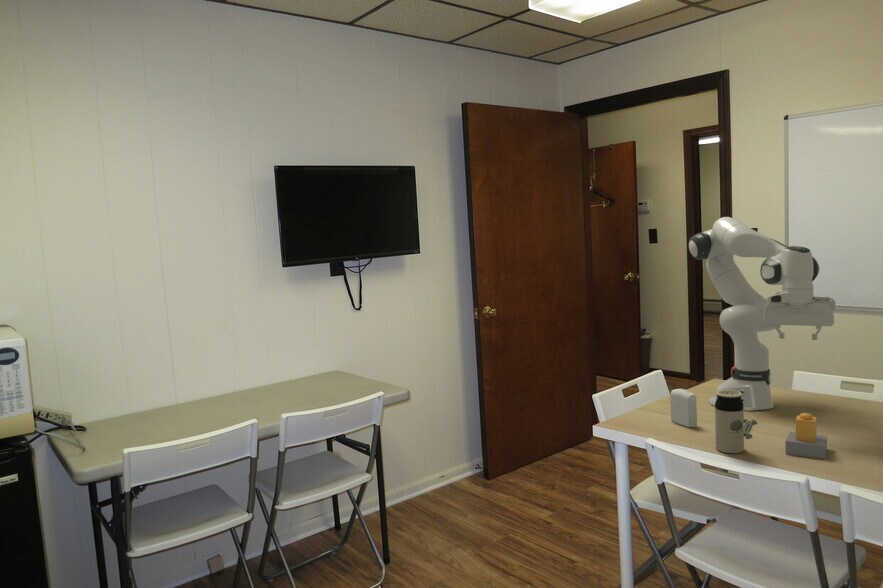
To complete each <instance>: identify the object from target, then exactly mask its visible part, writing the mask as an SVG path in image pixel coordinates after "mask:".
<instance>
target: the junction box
mask: <svg viewBox="0 0 883 588" xmlns="http://www.w3.org/2000/svg"><path fill="white" fill-rule="evenodd" d="M827 450H828V436H827V435H823V434H821V435H819V434H816V440H815V442H811V441H803V440H796V431H789V432H788V434H787V437H786V439H785V454H786V455H791V456H796V457H797V456H799V457H806V458H813V459H819V460H820V459H821V460H824V459H825V458H826V454H827Z"/></svg>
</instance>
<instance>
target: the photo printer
mask: <svg viewBox="0 0 883 588" xmlns="http://www.w3.org/2000/svg"><path fill="white" fill-rule="evenodd" d="M669 395H670V397H669V398H670V403H669V404H670V421H671V422H673V423H675V424H679V425H681V426H684V427H688V428H695V427H696V426H698V411H697V410H698V409H697V396H696V395H695V394H694V393H693V392H691V391H690V390H687V389H685V388H676V389H675V388H674V389H672V390H671V392H670V394H669Z"/></svg>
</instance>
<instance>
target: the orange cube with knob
mask: <svg viewBox="0 0 883 588" xmlns="http://www.w3.org/2000/svg"><path fill="white" fill-rule="evenodd" d="M795 432H796V440H803V441H811V442H815V440H816V435H817V416H813V414H812V413H807V412H801V413H799V414H798V415H797V416H796V418H795Z"/></svg>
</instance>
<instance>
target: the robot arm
mask: <svg viewBox="0 0 883 588" xmlns="http://www.w3.org/2000/svg"><path fill="white" fill-rule="evenodd" d="M687 246H688V250H689V253H690V255H691V256H692V258H694V259H695V260H697V261H701V260H706V262H705V268H706V271H707V273H708V276H709V278H710V281H711V283H712V284H713V286H714V288H715V290H716V291H717V292H718V295H719V296H720V298H721V299H722V300H723V302H725V303H727V304H729V305H731V306H730V307H727V308H725V309H723V310H722V311H721V312H720V315H719V325H720V327H721V329H722V330H723V331H724V332H725V333H726V334H727V335H729V337H730V338H731V340H732V342H733V344H734V347H735V355H736V356H735V357H736V366H733V367H731V370H730V376H731V377H729V378H728V379H726V380H725V381H723V382H722V383H720V384H719V385H718V386H717V388H716V391H715V394H714V396H712V397H710V398H709V401H708V404H709V405H710V406H713V407H715V402H716V400H717V395H716V392H717V391H720V390H733V391H738V392H741V393H742V396H741V401H742V402H743V411H745V412H746V411H747V412H754V411H759V410H762V411H763V410H769V409H773V408H774V407H775V403H774V402H773V397H772V394H771V393H772V392H771V380H772V379H771V378H772V377H771V376H772V375H771V369H770V368H769V367H770V364H769V363H770V362H769V360H770V357H769V356H770V354H769V353H770V351H769V349H768V347H767V346H766V345H765V344H763V343H762V342H761V341H760V339H759V336H758V333H763V332H769V331H773V330H776V332H777V334H778V339H785V332H782V330H781V329H780V328H781V327H782V326H801V327H802V326H805V327H806V326H807V327H808V326H809V327H815V330H817V331H815V333H811V340H812V341H818V339H819V337H818V335H819V333H820V332H821V330H822V327H832V326H834V325H835V314H834V311H835V309H836V300H835V299H833V298H830V297H829V296H824V297H822V296H815V294H814V283H813V282H814V281H815V280H816V278H817V277H818V276H819V274H820V273H819V272H820V264H819V263H818V261H817V259H816V258H815V257H814V256H813V254H812V251H811V249H810V248H808V247H804V246H797V245H793V246H792V245H791V246H788V245H785V244H784V243H782V242H780V241H778V240H775V239H773V238H771V237H769V236H766V235H765V234H762V233H760V232H758V231H756V230H754V229H753V228H751V227H749V226H748V225H746V224H745V223H744V222H742V221H739V220H738V219H735V218H733V217H730V216H723V217H720V218H719V219H717V220H716V221H714V223H713V226H712V229H707V230H705V231H703V232H699V233H696V234H694V235H692V236H691V237H690V238H689V240H688V245H687ZM734 256H737V257H739V258H762V259H763V258H764V260H763V262H762V264H761V266H760V272H759V273H760V277H761V279H762V280H763V281H764V282H765V283H766V284H767V285H770V286H781V287H782V289H781V291H779V292H775V293H773V294H769V295H767V298H765V297H764V296H763V295H762V294H760V293H758V291H756V290H755V289H754V288H753V287H752V285H751V284H750V283H749V282H748V280H747V279H746V278H745V276H744V274H743V273H742V271H741V270H740V268H739V267H738V266H737V265H738V264H736V263H735V260H734Z"/></svg>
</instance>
